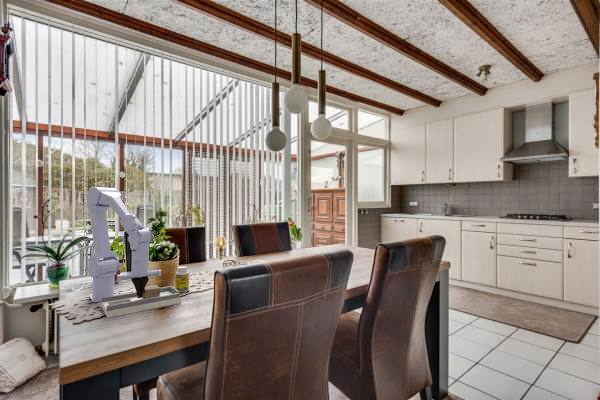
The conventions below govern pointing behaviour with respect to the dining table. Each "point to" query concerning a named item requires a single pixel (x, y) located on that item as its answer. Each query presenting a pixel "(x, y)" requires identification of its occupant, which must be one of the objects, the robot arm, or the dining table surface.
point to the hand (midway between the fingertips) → (139, 297)
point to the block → (151, 291)
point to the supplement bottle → (182, 279)
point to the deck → (138, 302)
